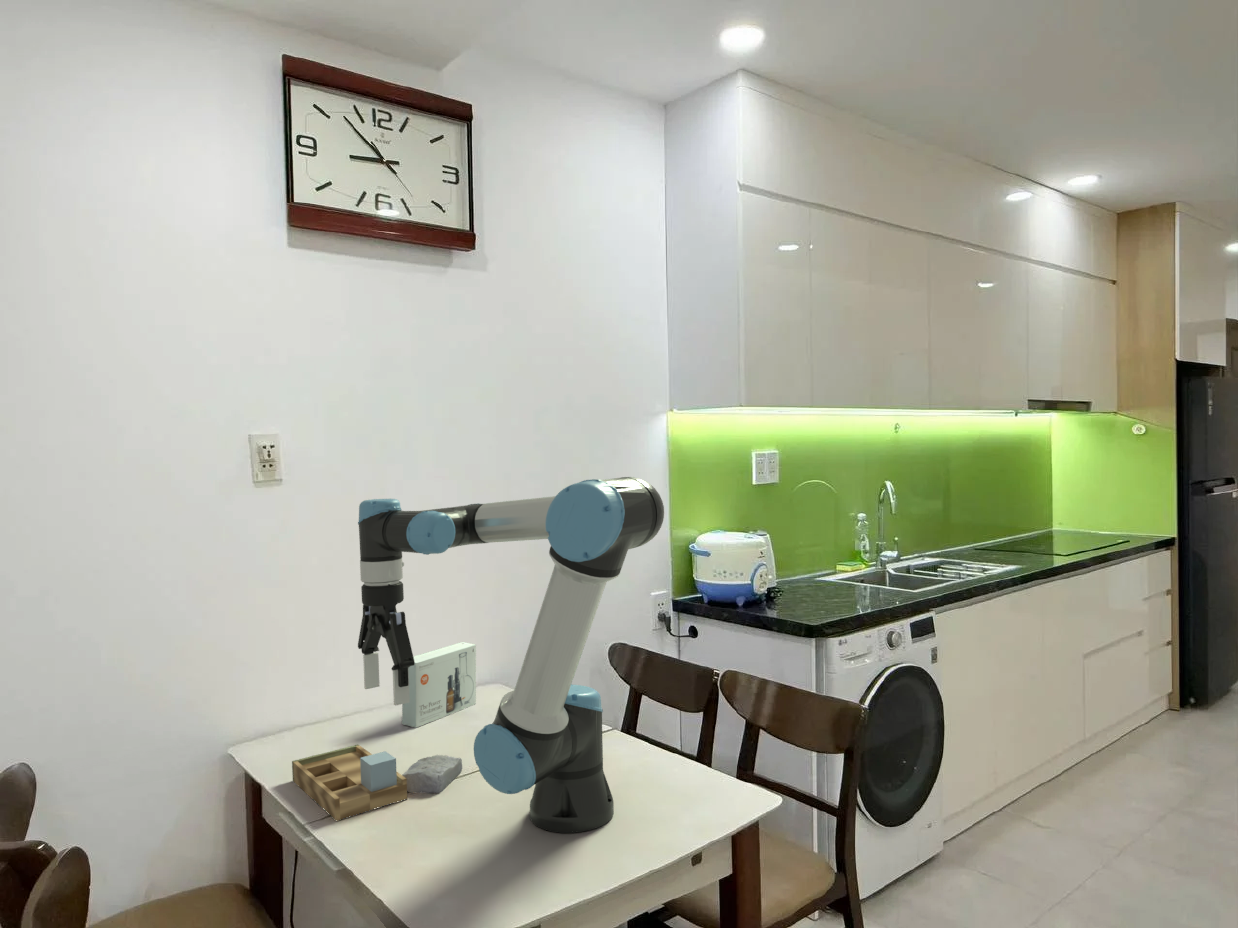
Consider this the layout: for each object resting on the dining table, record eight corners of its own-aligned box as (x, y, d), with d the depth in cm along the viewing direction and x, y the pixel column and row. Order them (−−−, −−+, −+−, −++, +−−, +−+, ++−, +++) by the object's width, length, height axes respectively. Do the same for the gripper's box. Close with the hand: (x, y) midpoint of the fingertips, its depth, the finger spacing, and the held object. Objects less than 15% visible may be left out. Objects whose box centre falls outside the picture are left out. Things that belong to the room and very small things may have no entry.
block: (396, 784, 160) (396, 758, 160) (371, 791, 157) (370, 765, 157) (386, 776, 164) (385, 750, 164) (361, 783, 161) (360, 757, 160)
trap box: (407, 799, 160) (406, 778, 160) (335, 821, 152) (335, 799, 151) (358, 762, 179) (358, 744, 179) (292, 780, 170) (292, 760, 170)
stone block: (396, 801, 164) (443, 794, 162) (391, 776, 164) (438, 769, 162) (423, 779, 176) (467, 772, 174) (418, 756, 176) (462, 749, 174)
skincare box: (417, 729, 199) (415, 662, 199) (401, 725, 202) (399, 659, 202) (478, 704, 217) (476, 643, 216) (462, 701, 220) (461, 640, 219)
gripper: (430, 587, 149) (435, 706, 150) (375, 572, 169) (378, 677, 169) (390, 593, 145) (395, 715, 145) (337, 577, 164) (342, 685, 165)
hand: (386, 695), depth 157 cm, fingers open, 13 cm apart
